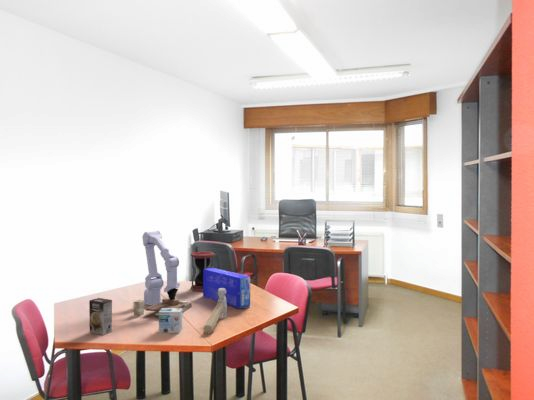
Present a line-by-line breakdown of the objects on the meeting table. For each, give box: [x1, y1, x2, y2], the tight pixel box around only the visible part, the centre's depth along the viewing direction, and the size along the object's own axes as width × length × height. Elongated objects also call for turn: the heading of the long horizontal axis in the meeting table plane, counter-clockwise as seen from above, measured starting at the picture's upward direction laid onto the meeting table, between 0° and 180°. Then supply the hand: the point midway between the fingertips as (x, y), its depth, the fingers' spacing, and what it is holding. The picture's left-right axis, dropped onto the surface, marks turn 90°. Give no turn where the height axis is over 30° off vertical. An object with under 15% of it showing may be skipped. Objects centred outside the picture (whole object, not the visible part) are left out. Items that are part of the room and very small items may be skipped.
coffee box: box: [88, 297, 113, 336], centre depth 218 cm, size 9×6×16 cm
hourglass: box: [190, 251, 215, 292], centre depth 306 cm, size 16×16×25 cm
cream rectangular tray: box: [154, 300, 193, 317], centre depth 254 cm, size 16×21×3 cm
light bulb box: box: [158, 308, 183, 334], centre depth 220 cm, size 11×7×11 cm, turn 90°
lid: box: [145, 298, 185, 313], centre depth 249 cm, size 17×14×4 cm
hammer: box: [203, 288, 228, 335], centre depth 230 cm, size 16×5×30 cm
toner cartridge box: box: [202, 267, 251, 309], centre depth 275 cm, size 39×8×18 cm, turn 42°
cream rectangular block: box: [133, 299, 145, 317], centre depth 246 cm, size 4×4×8 cm
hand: (172, 301), depth 256 cm, fingers closed
